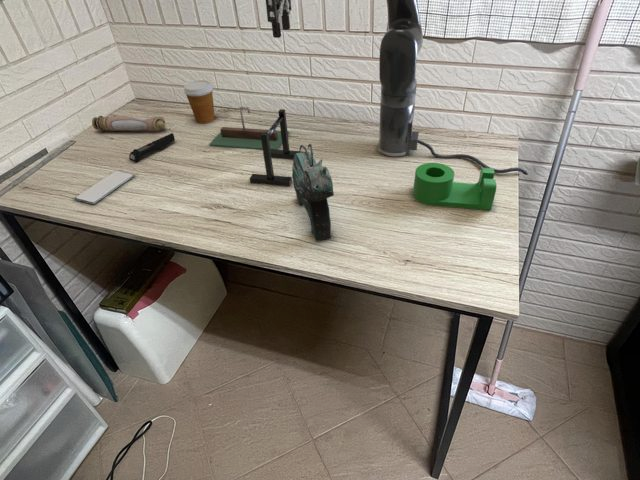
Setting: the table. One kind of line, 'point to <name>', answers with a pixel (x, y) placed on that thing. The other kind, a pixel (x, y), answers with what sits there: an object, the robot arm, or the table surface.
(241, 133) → the brown bar with hook
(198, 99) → the disposable coffee cup
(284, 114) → the rail stand
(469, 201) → the green bracket
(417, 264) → the table surface
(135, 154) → the electric trimmer
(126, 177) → the smartphone
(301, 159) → the toy ray gun
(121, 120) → the tan rolled cylinder
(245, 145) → the mat
